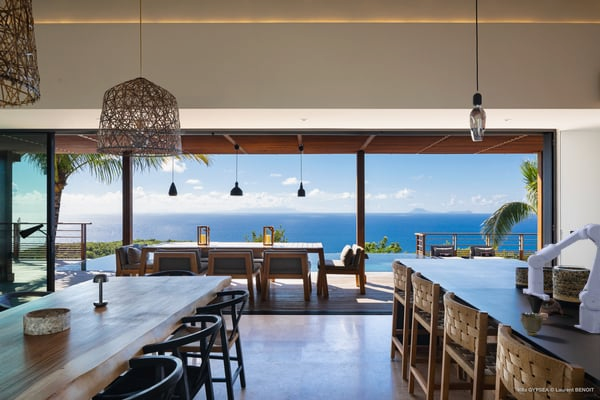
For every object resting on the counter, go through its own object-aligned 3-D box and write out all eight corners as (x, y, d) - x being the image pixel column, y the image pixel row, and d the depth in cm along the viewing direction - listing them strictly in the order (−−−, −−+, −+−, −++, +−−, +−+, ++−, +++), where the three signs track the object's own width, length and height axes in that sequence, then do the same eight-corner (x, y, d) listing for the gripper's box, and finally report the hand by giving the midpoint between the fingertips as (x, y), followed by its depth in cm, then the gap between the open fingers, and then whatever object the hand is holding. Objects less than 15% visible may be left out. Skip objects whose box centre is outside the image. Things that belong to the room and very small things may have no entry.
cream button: (532, 318, 166) (532, 314, 166) (526, 318, 166) (526, 314, 166) (528, 316, 169) (528, 312, 169) (522, 316, 168) (522, 312, 168)
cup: (522, 330, 155) (522, 311, 156) (544, 334, 151) (544, 314, 151) (519, 335, 150) (519, 314, 150) (541, 339, 145) (541, 318, 145)
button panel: (551, 324, 165) (551, 321, 165) (527, 324, 164) (527, 321, 164) (544, 321, 170) (543, 318, 170) (520, 321, 169) (520, 318, 169)
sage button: (541, 318, 166) (541, 314, 166) (534, 318, 166) (534, 314, 166) (536, 316, 169) (536, 312, 169) (530, 316, 169) (530, 312, 169)
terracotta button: (549, 318, 166) (549, 314, 166) (543, 318, 166) (543, 314, 166) (545, 316, 169) (545, 312, 169) (538, 316, 169) (538, 312, 169)
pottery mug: (569, 317, 178) (563, 303, 177) (549, 325, 180) (543, 311, 178) (553, 304, 190) (548, 291, 189) (535, 312, 192) (529, 298, 190)
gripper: (516, 279, 175) (516, 308, 174) (538, 285, 160) (538, 317, 160) (531, 279, 175) (531, 308, 175) (554, 285, 161) (554, 317, 160)
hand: (535, 313), depth 167 cm, fingers closed
